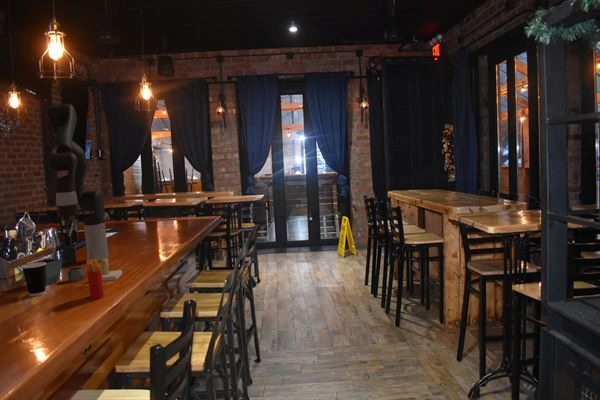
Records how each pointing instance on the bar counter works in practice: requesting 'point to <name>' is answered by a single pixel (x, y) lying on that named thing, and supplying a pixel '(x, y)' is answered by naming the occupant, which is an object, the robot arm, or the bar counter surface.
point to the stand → (109, 274)
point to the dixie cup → (35, 278)
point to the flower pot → (51, 269)
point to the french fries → (95, 279)
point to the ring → (75, 274)
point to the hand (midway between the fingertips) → (71, 244)
